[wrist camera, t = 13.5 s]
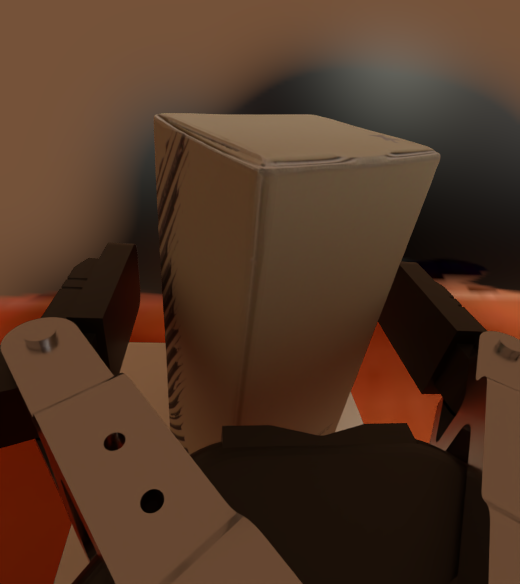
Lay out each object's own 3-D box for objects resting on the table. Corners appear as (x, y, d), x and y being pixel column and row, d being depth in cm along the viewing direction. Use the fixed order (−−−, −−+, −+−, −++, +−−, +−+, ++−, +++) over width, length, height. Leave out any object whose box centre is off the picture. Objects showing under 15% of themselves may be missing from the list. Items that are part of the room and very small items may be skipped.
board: (329, 356, 22) (332, 346, 22) (423, 604, 12) (432, 595, 12) (127, 352, 20) (126, 342, 20) (44, 643, 10) (37, 635, 10)
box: (263, 398, 18) (318, 112, 11) (325, 472, 15) (457, 148, 8) (161, 450, 15) (144, 102, 8) (215, 554, 12) (265, 154, 5)
